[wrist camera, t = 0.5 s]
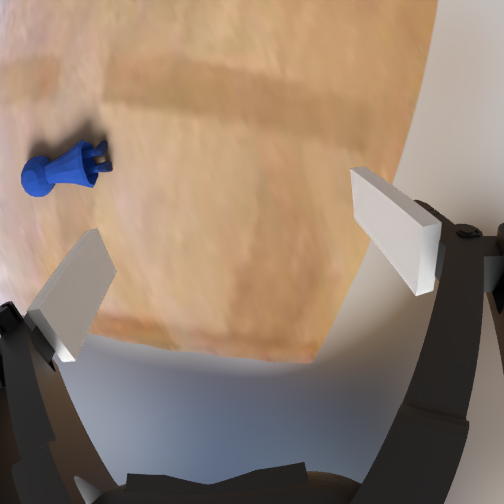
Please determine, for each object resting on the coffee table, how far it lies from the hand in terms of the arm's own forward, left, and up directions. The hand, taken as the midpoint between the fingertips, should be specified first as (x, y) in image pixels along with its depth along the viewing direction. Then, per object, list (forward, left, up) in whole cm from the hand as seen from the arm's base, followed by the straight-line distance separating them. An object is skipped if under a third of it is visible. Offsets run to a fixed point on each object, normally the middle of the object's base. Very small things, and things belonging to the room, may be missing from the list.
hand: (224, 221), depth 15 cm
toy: (-3, -24, -28) cm, 36 cm away
